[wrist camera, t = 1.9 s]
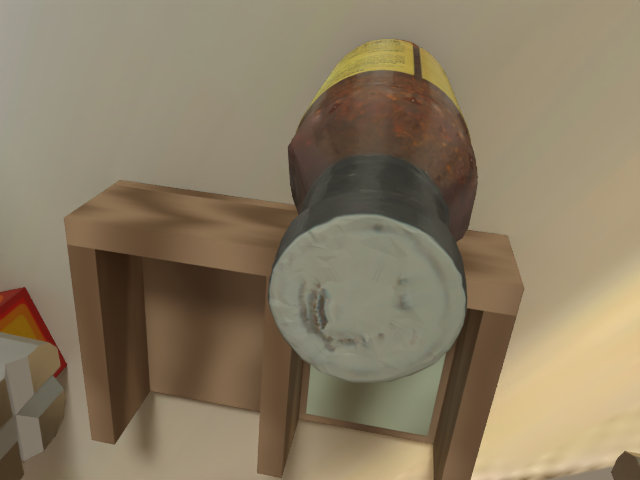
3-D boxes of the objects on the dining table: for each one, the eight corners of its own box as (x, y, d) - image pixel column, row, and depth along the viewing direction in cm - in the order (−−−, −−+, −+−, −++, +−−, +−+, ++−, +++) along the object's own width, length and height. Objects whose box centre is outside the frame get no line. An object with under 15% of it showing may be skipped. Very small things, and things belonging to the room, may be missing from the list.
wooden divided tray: (135, 379, 40) (91, 439, 35) (119, 180, 33) (63, 217, 28) (455, 439, 37) (460, 513, 32) (507, 235, 31) (524, 288, 26)
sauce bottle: (310, 126, 30) (145, 342, 12) (361, 11, 27) (244, 80, 10) (419, 180, 30) (411, 468, 13) (481, 72, 28) (583, 248, 10)
